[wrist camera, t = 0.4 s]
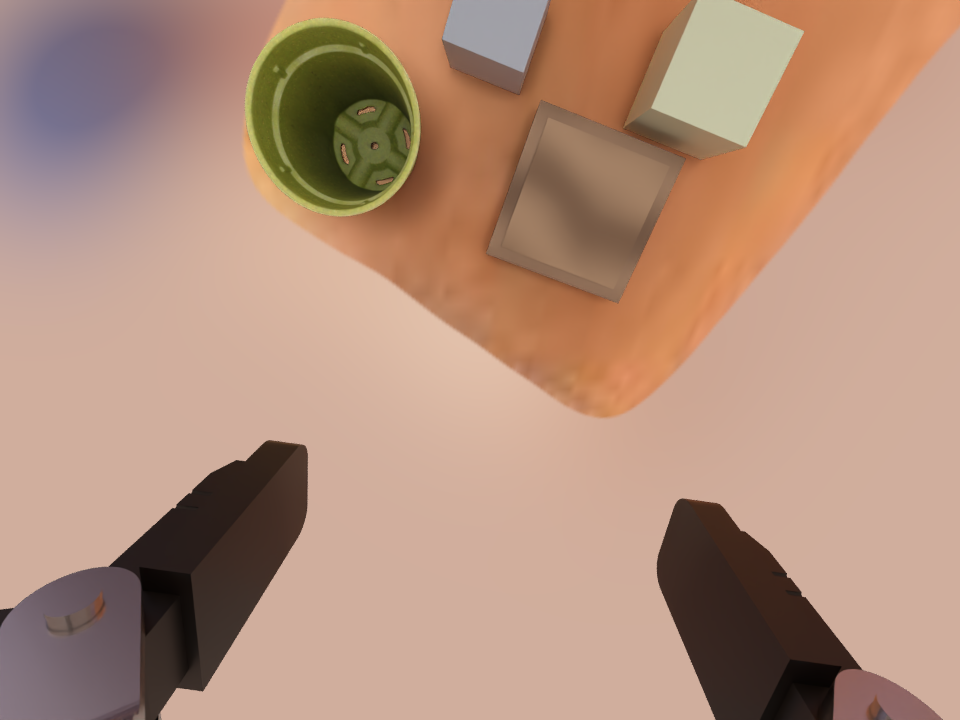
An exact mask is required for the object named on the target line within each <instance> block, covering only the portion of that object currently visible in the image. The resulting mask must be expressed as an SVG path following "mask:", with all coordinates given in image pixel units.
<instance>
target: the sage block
mask: <svg viewBox="0 0 960 720" xmlns="http://www.w3.org/2000/svg"><path fill="white" fill-rule="evenodd" d="M803 33H804V31H802V30H800V29H798V28H796V27H793V26H791V25H789V24H786V23H784V22H782V21H780V20H777V19H775V18H773V17H771V16H768V15H766V14H764V13H761V12H759V11H757V10H755V9H752V8H750V7H748V6H745V5H743V4H741V3H739V2H736V1H734V0H691V1H690V2H689V3H688V5H687V6H686V7H685V8H684V9H683V10H682V11H681V12H680V13H679V15H678V16H677V17H676V18H675V19H674V20H673V21H672V22H671V24H670V25H669V26H668V27H667V28H666V29H665V30H664V31H663V33H662V35H661V38H660V40H659V43H658V45H657V47H656V50H655V52H654V55H653V57H652V59H651V62H650V64H649V67H648V69H647V71H646V74H645V76H644V79H643V81H642V83H641V86H640V88H639V91H638V93H637V95H636V98H635V100H634V103H633V105H632V107H631V110H630V112H629V115H628V117H627V119H626V122H625V124H624V127H623V128H624V129H626V130H629V131H631V132H634V133H636V134H638V135H641V136H643V137H646V138H648V139H651V140H653V141H656V142H658V143H661V144H663V145H666V146H668V147H670V148H673V149H675V150H678V151H680V152H683V153H685V154H688V155H690V156H693V157H695V158H698V159H700V160H702V159H706V158H710V157H713V156H717V155H720V154H724V153H727V152H731V151H734V150H738V149H742V148H745V147H746V146H747V144H748V142H749V140H750V138H751V136H752V134H753V132H754V130H755V128H756V126H757V124H758V122H759V121H760V119H761V117H762V115H763V113H764V111H765V109H766V107H767V105H768V103H769V101H770V99H771V97H772V95H773V93H774V91H775V89H776V87H777V85H778V83H779V81H780V79H781V77H782V75H783V73H784V71H785V69H786V67H787V65H788V63H789V61H790V59H791V57H792V55H793V53H794V51H795V49H796V47H797V45H798V43H799V41H800V39H801V37H802V35H803Z"/></svg>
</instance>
